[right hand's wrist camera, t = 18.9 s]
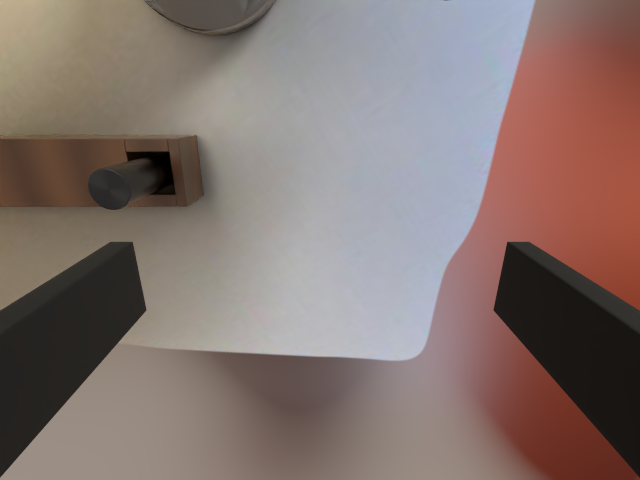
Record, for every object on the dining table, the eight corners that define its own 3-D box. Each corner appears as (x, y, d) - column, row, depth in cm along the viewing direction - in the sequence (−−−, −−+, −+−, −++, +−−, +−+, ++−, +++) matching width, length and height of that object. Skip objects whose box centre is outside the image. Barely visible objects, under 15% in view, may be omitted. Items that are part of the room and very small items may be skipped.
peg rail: (-30, 195, 38) (-78, 206, 34) (-52, 135, 36) (-107, 138, 32) (203, 195, 38) (187, 206, 34) (196, 135, 36) (177, 138, 32)
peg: (155, 150, 37) (82, 168, 26) (185, 150, 37) (125, 168, 26) (159, 180, 38) (92, 210, 27) (189, 180, 38) (133, 210, 27)
